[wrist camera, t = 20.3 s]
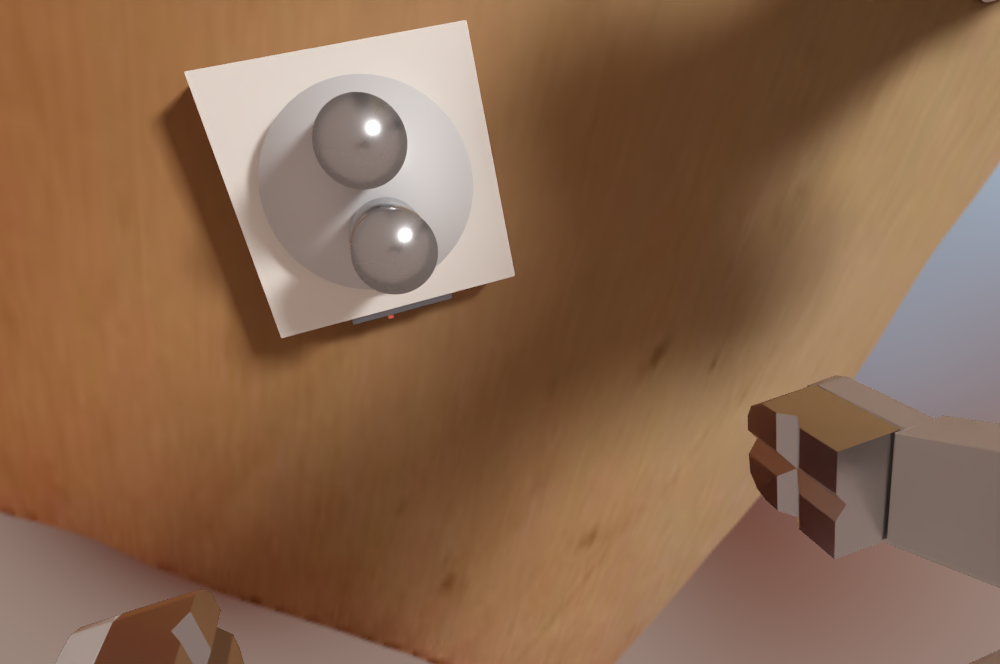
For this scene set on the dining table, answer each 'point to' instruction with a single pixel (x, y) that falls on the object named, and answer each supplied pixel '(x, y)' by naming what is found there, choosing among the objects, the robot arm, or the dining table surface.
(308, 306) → the scale
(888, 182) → the dining table surface
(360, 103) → the cylinder
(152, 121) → the dining table surface
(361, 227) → the cylinder
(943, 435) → the robot arm
